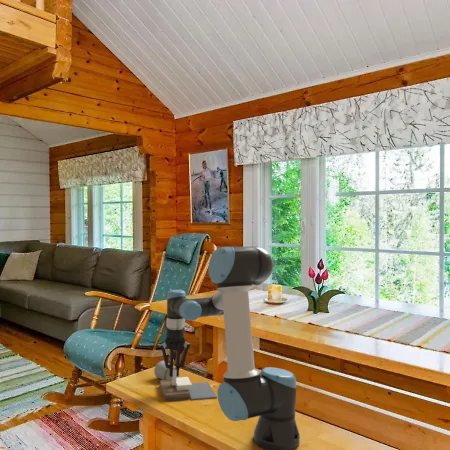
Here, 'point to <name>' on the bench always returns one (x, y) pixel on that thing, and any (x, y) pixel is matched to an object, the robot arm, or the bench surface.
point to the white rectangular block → (183, 383)
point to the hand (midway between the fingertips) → (173, 384)
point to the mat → (201, 391)
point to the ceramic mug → (162, 371)
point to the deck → (173, 391)
